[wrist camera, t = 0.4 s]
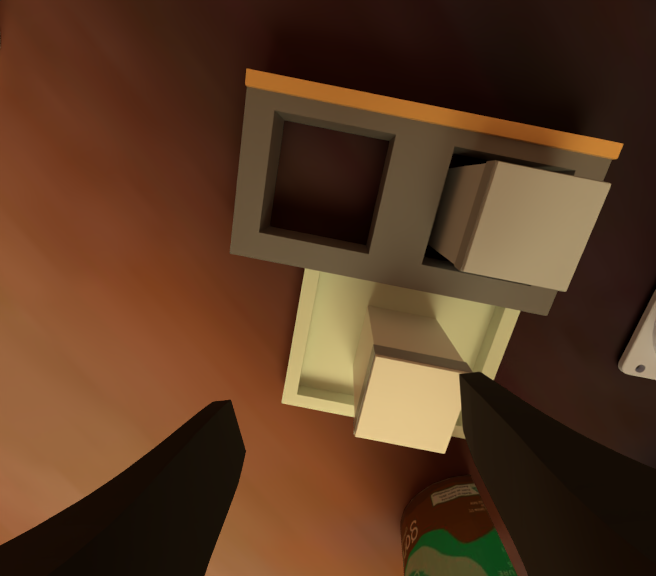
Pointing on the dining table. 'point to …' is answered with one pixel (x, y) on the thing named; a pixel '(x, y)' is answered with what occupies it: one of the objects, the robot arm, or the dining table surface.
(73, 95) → the dining table surface
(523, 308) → the grey cubby shelf
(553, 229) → the beige block
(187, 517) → the robot arm
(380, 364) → the plug
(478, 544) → the food container
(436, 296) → the tray
